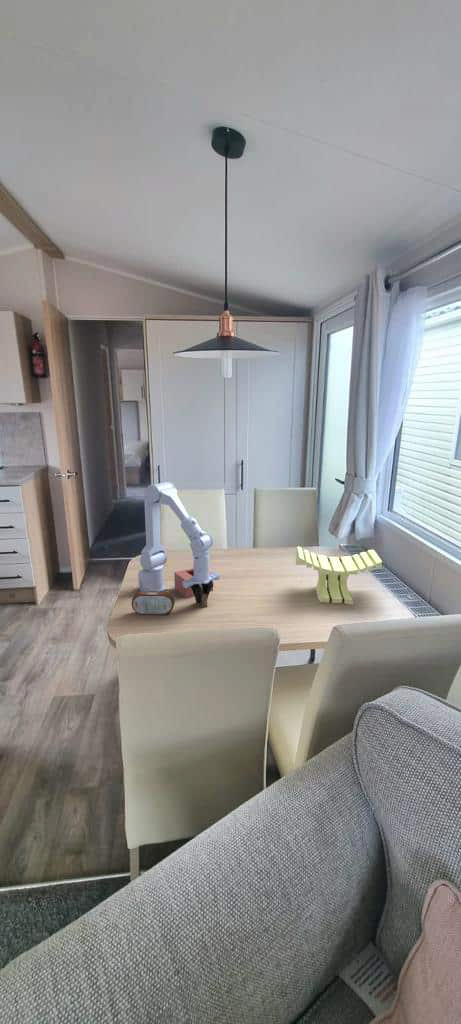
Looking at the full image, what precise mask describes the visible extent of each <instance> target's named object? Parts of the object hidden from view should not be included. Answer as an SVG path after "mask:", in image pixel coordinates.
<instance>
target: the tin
mask: <svg viewBox="0 0 461 1024" xmlns="http://www.w3.org/2000/svg"><path fill="white" fill-rule="evenodd" d="M175 602H176V600H175V597H174V596H173V594H171V593H170V592H168V591H167V590H164V591H141V590H140V591H138V592H136V593H134V595H132V599H131V607H132V610H133V611H134V612H135V613H137V615H142V614H144V615H146V614H147V615H150V616H151V615H153V616H159V615H160V616H161V615H162V616H164V615H168V614H170V613H171V612H172V611H173V610H174V606H175V604H176V603H175ZM147 615H146V616H147Z"/></svg>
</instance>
